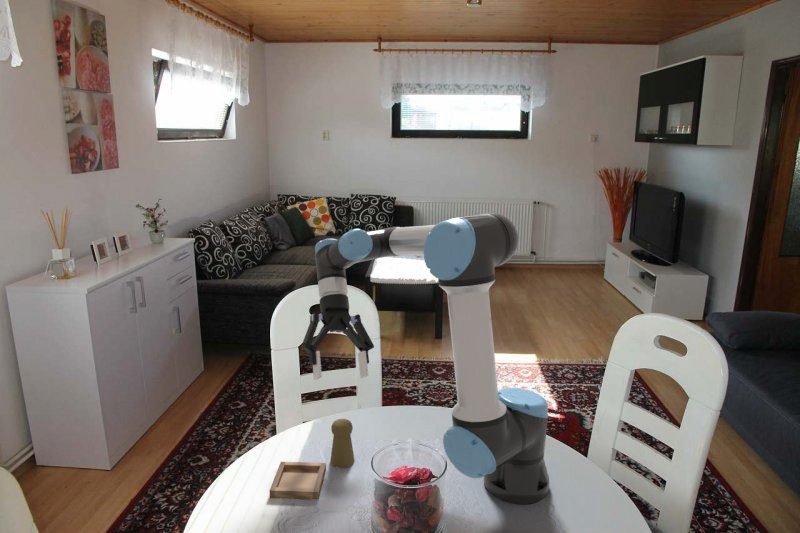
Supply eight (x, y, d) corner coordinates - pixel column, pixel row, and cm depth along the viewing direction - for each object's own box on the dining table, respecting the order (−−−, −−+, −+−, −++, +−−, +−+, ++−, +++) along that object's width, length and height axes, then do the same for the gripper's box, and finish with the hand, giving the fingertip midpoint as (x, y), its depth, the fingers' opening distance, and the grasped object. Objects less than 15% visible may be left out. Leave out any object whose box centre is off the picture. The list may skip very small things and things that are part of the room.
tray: (326, 470, 138) (325, 462, 138) (318, 499, 128) (318, 491, 127) (281, 468, 139) (280, 461, 138) (269, 498, 128) (269, 490, 128)
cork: (357, 456, 144) (357, 417, 141) (349, 470, 139) (349, 429, 136) (335, 452, 146) (335, 413, 143) (326, 465, 140) (325, 425, 137)
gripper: (365, 303, 160) (374, 379, 153) (283, 298, 145) (289, 381, 138) (380, 295, 154) (390, 373, 147) (297, 289, 139) (304, 375, 133)
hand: (341, 377), depth 143 cm, fingers open, 13 cm apart
